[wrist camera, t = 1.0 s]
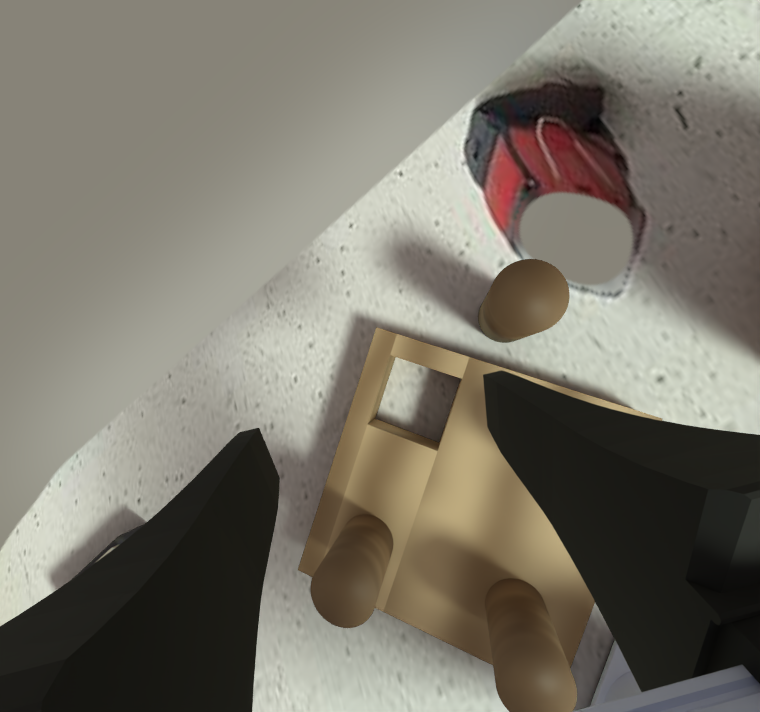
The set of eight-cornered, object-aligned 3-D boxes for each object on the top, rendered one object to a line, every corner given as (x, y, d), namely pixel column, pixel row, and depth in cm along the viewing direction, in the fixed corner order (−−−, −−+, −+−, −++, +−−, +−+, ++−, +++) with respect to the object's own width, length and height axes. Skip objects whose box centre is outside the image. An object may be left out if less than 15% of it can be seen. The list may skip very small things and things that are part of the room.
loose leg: (539, 299, 24) (580, 270, 17) (522, 349, 25) (554, 343, 17) (487, 285, 25) (503, 250, 17) (471, 333, 25) (480, 320, 17)
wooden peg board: (640, 412, 23) (736, 438, 15) (548, 663, 24) (595, 810, 16) (383, 330, 27) (354, 317, 19) (311, 551, 27) (255, 627, 20)
